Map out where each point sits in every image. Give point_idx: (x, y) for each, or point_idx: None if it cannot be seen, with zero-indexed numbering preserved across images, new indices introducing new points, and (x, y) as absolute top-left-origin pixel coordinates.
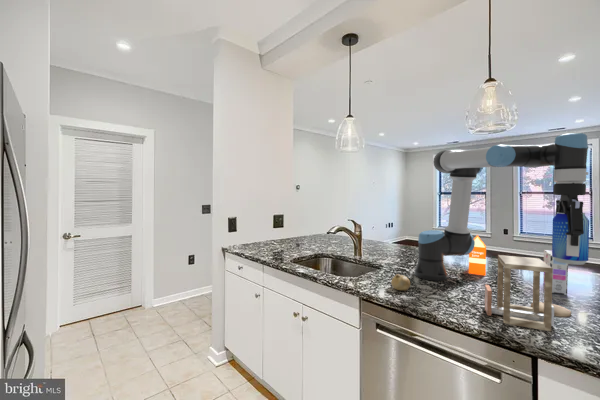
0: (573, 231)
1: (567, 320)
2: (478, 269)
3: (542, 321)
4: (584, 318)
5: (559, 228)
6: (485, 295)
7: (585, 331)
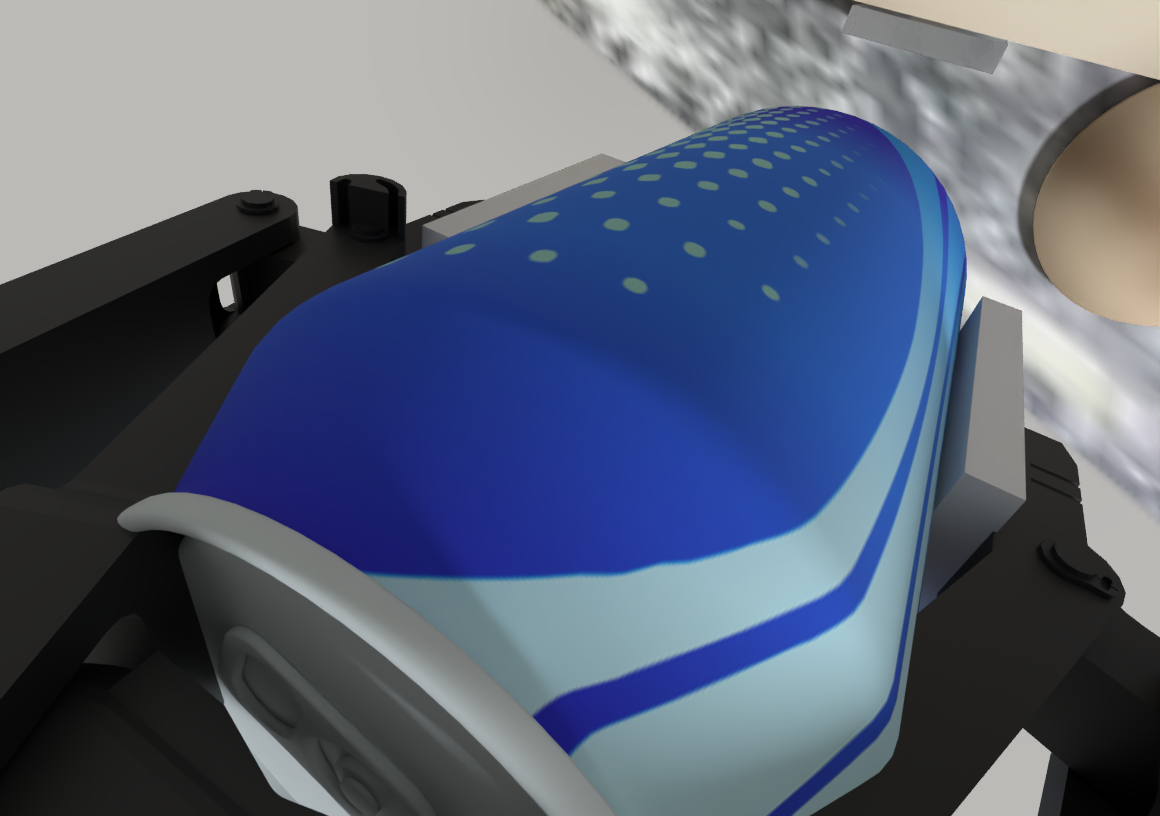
0: (224, 205)
1: (973, 198)
2: None
3: None
4: None
5: (485, 223)
6: None
7: None
